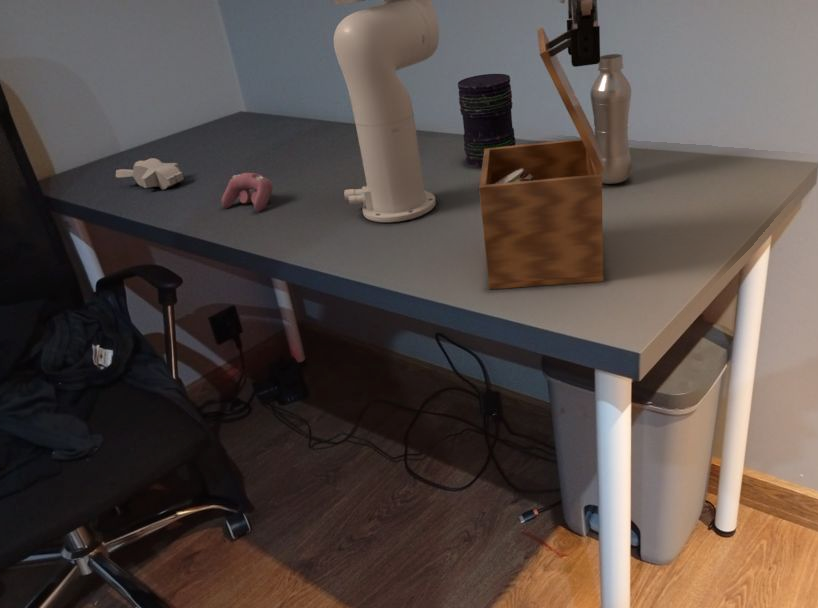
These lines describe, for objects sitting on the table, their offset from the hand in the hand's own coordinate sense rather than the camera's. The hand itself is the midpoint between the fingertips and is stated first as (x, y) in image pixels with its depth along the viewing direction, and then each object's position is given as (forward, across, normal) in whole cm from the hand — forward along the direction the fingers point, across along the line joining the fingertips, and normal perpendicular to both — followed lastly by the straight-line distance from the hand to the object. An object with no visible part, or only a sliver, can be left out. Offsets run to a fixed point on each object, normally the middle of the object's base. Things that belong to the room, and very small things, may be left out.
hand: (583, 57), depth 87 cm
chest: (+26, 0, -6) cm, 27 cm away
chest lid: (+5, 0, -2) cm, 5 cm away
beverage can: (+25, +2, -6) cm, 25 cm away
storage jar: (+26, -47, -15) cm, 55 cm away
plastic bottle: (+26, -29, +6) cm, 39 cm away
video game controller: (+26, -34, -60) cm, 74 cm away
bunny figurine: (+26, -53, -88) cm, 106 cm away
